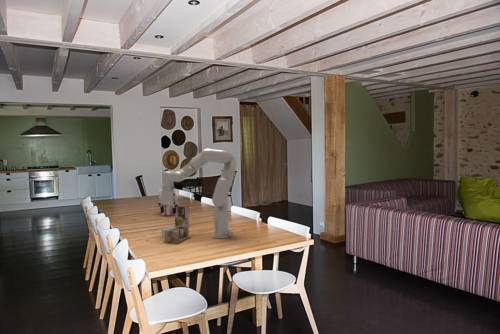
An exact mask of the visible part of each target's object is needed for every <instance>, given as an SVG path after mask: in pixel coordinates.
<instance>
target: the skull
mask: <svg viewBox="0 0 500 334" xmlns="http://www.w3.org/2000/svg"><path fill="white" fill-rule="evenodd" d="M162 190H163V188H162V189H161V188H160V189H158V191H157V192H158V198H159V199H161V193H162ZM174 191H175V194H176V200H177V201H178V199H179V197H180V189H177V188H175V189H174ZM159 199H158V200H159ZM163 207H164V212H163V213H160V214H161V216H164V217H166V216H173V215H174V214H173V206H172V205H164V206H163Z"/></svg>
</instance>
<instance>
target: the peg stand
mask: <svg viewBox="0 0 500 334" xmlns="http://www.w3.org/2000/svg"><path fill="white" fill-rule="evenodd" d="M189 239H191V236H190V235H189V226H188V227H186V226H176V229H175V231H169V230H166V231H165V238H164V240H163V244H170V245H171V244H172V245H179V244H181V243H184V242H186V241H188V240H189ZM185 240H186V241H185Z"/></svg>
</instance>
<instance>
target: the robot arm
mask: <svg viewBox="0 0 500 334" xmlns="http://www.w3.org/2000/svg"><path fill="white" fill-rule="evenodd" d="M209 162H210V163H219V164H223V168H222V170H221V175H220V177H219V179H218V180H217V182H216V184H215V188H214V191H213V194H212V199H211V201H212V204H213V212H214V213H213V217H214V219H213V221H214V223H213V225H214V228H213V229H214V233H213V234H212V238H214V239H227V238H230V237H231V236H233V235H234V231H230V228H229V193H230V190H231V187H232V186H233V185H232V184H233V180H234V176H235V172H236V169H237V159H236V157H235V156H234V154H233V153H231V151H229V150H223V149H222V150H221V149H213V148H209V147H208V148H204V149H202V150H201V152H200V153H198V154H197V155H196V156H194V157H193V158H191V159H190V160H189V162H188V163H187V164H186V165H184V166H183V167H182V168H181V169H179V170H176V171H172V170H164V171H162V173H161V175H162V184H161V185H162V189H163V190H162V193H161V199H158V200H156V202H157V204H158V206H159V207H160V214H163V213H164V205H172V206H173V211H172V212H173V214H172V215H175V213H176V208H177V206H179V205H180V201H179V200H178V199H177V200H176V194H175V191H174V189H176V187H175V185H174V184H175V183H179V182H182V181H184V180H186V179H187V178H188V177H190V176H191V175H193V174H194V173H196V172H197V171H199V170H200V169H201V168H203V167H204V166H205V165H207V164H208V163H209ZM174 182H175V183H174Z"/></svg>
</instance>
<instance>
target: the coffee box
mask: <svg viewBox="0 0 500 334" xmlns="http://www.w3.org/2000/svg"><path fill="white" fill-rule="evenodd" d="M189 216H190V215H189V206H188V205H178V206H177V208H176V213H175V214H174V224H175V225H174V227H176V226H186V227H188V228H189V226H190V224H189V223H190V222H189Z"/></svg>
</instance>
